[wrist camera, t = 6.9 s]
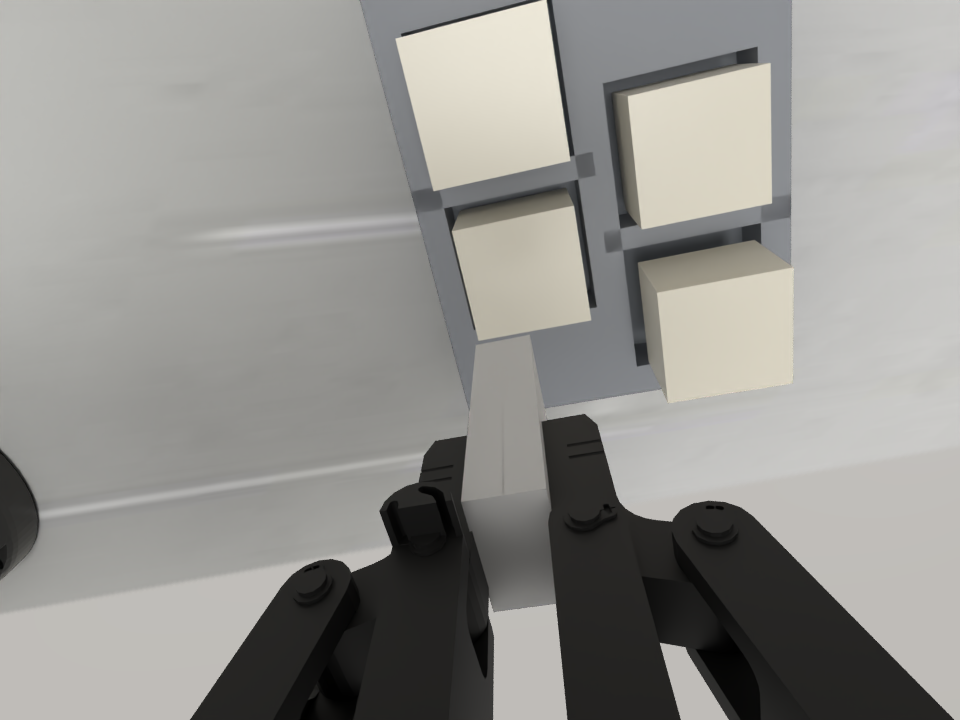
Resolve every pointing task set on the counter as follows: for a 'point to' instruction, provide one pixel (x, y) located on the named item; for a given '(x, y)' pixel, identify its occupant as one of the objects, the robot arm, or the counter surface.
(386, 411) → the counter surface
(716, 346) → the button
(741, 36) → the board
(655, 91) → the button
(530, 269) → the button
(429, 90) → the button
